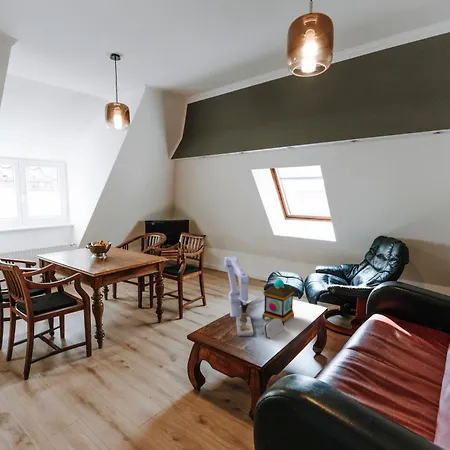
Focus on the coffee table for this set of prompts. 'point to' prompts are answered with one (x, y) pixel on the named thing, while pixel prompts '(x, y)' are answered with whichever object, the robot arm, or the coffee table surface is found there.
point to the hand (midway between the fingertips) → (243, 310)
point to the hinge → (273, 328)
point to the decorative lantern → (278, 302)
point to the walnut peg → (243, 317)
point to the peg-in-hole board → (244, 327)
